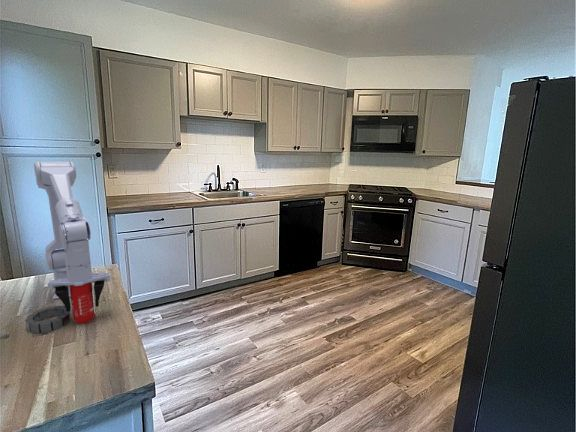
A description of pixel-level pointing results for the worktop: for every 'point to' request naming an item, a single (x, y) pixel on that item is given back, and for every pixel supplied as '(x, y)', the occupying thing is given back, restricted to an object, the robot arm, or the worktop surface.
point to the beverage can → (82, 303)
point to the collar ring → (47, 326)
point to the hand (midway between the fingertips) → (83, 307)
